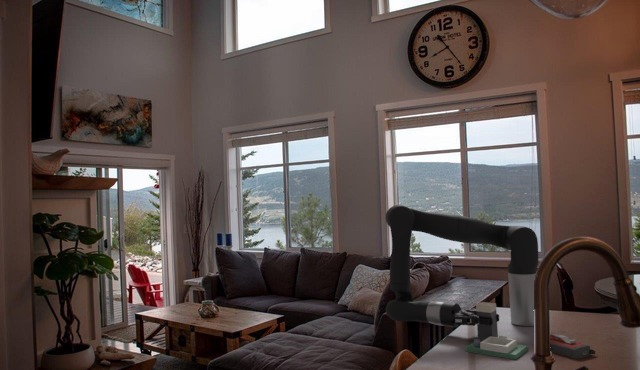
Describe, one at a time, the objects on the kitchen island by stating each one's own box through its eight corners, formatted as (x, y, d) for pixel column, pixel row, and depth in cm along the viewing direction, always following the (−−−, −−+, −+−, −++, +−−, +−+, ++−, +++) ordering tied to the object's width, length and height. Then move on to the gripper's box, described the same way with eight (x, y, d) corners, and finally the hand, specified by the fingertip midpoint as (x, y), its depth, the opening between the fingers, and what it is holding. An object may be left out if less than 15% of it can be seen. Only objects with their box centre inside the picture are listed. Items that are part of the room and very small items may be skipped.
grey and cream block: (483, 337, 154) (481, 302, 155) (498, 339, 151) (495, 303, 152) (478, 340, 151) (475, 304, 151) (492, 343, 148) (490, 306, 148)
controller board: (479, 342, 149) (479, 330, 149) (527, 349, 140) (527, 336, 140) (466, 351, 141) (465, 337, 141) (515, 359, 132) (515, 345, 132)
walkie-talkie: (601, 356, 133) (540, 339, 151) (600, 339, 133) (539, 324, 151) (579, 361, 129) (519, 343, 147) (578, 344, 129) (518, 329, 147)
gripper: (432, 306, 155) (486, 311, 144) (452, 298, 166) (503, 302, 155) (434, 330, 155) (487, 337, 144) (453, 320, 166) (504, 327, 155)
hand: (495, 319), depth 150 cm, fingers closed on grey and cream block, 4 cm apart
